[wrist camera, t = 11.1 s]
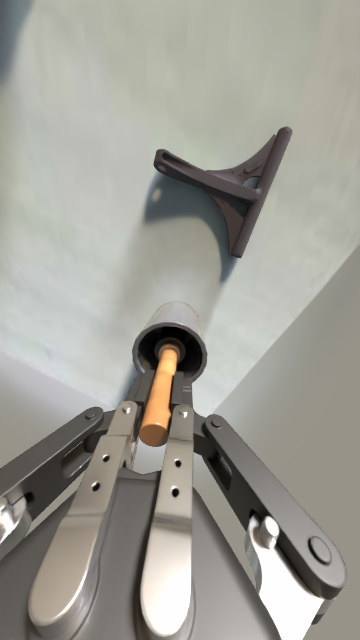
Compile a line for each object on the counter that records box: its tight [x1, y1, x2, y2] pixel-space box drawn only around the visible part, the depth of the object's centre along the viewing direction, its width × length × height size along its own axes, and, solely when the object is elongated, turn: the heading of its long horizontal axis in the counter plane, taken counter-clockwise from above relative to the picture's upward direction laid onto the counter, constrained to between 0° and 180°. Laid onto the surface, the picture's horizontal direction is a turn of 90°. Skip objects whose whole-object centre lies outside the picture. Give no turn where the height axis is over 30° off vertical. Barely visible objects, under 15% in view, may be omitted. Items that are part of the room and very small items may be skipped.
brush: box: [139, 326, 186, 447], centre depth 17 cm, size 4×4×16 cm
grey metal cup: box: [132, 301, 207, 382], centre depth 23 cm, size 8×8×11 cm
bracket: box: [154, 127, 292, 258], centre depth 21 cm, size 14×15×3 cm
